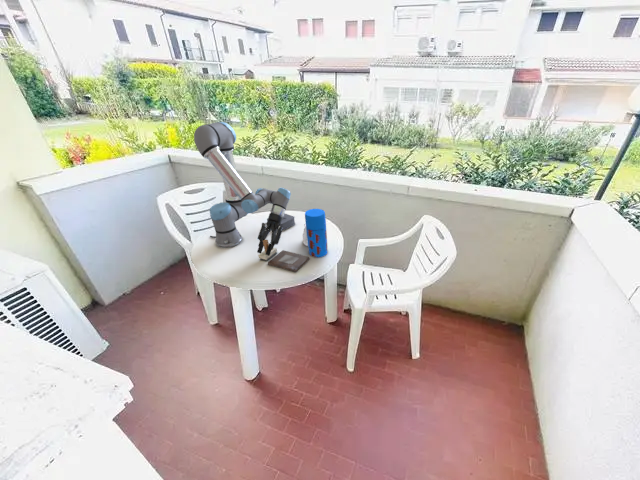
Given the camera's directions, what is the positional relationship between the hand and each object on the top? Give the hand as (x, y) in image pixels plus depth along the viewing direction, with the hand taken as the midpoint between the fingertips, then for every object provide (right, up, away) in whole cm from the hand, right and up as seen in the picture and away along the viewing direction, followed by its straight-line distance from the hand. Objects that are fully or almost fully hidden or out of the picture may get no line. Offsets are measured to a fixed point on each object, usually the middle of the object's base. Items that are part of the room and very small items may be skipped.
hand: (263, 253), depth 155 cm
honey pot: (+25, +8, +19) cm, 33 cm away
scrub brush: (+1, -1, +5) cm, 5 cm away
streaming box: (0, +21, +38) cm, 43 cm away
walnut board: (+14, -4, 0) cm, 15 cm away
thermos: (+29, +1, +8) cm, 31 cm away
